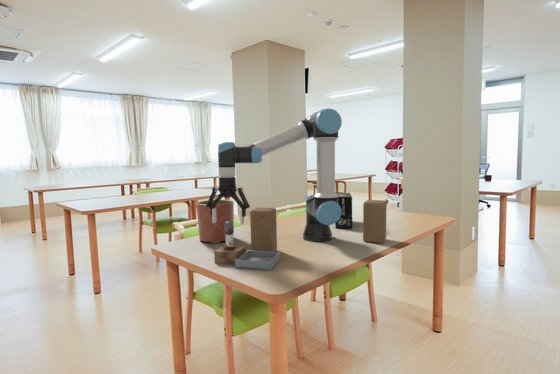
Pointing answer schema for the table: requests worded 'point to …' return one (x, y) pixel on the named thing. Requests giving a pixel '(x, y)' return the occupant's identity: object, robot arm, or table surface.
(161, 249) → the table surface
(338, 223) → the box
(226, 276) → the table surface
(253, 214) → the wooden block
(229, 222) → the cylinder
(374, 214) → the block
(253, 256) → the tray
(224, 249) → the block
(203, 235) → the planter
